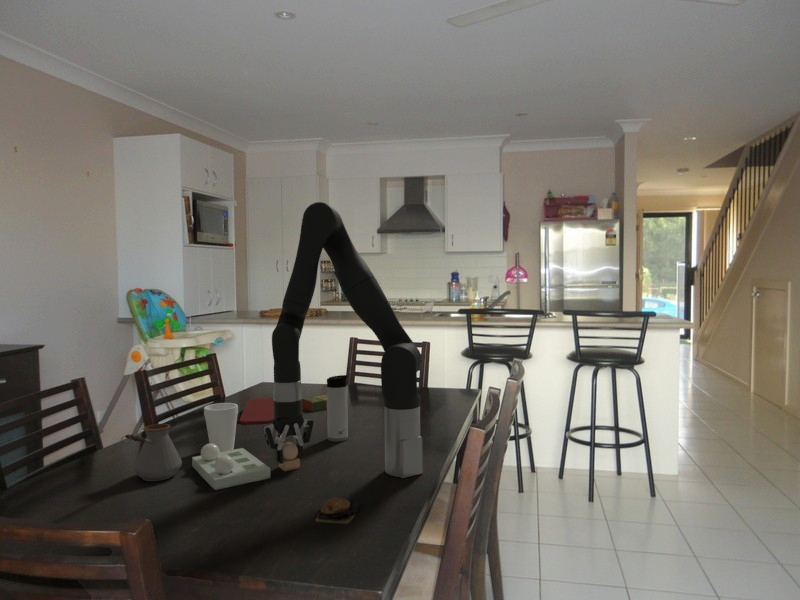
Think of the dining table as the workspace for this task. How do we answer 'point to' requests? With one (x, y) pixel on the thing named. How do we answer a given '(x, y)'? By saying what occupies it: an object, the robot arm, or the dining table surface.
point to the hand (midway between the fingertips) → (289, 460)
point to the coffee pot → (156, 454)
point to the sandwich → (337, 511)
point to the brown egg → (289, 451)
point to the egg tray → (242, 473)
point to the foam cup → (221, 424)
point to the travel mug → (337, 408)
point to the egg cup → (290, 464)
